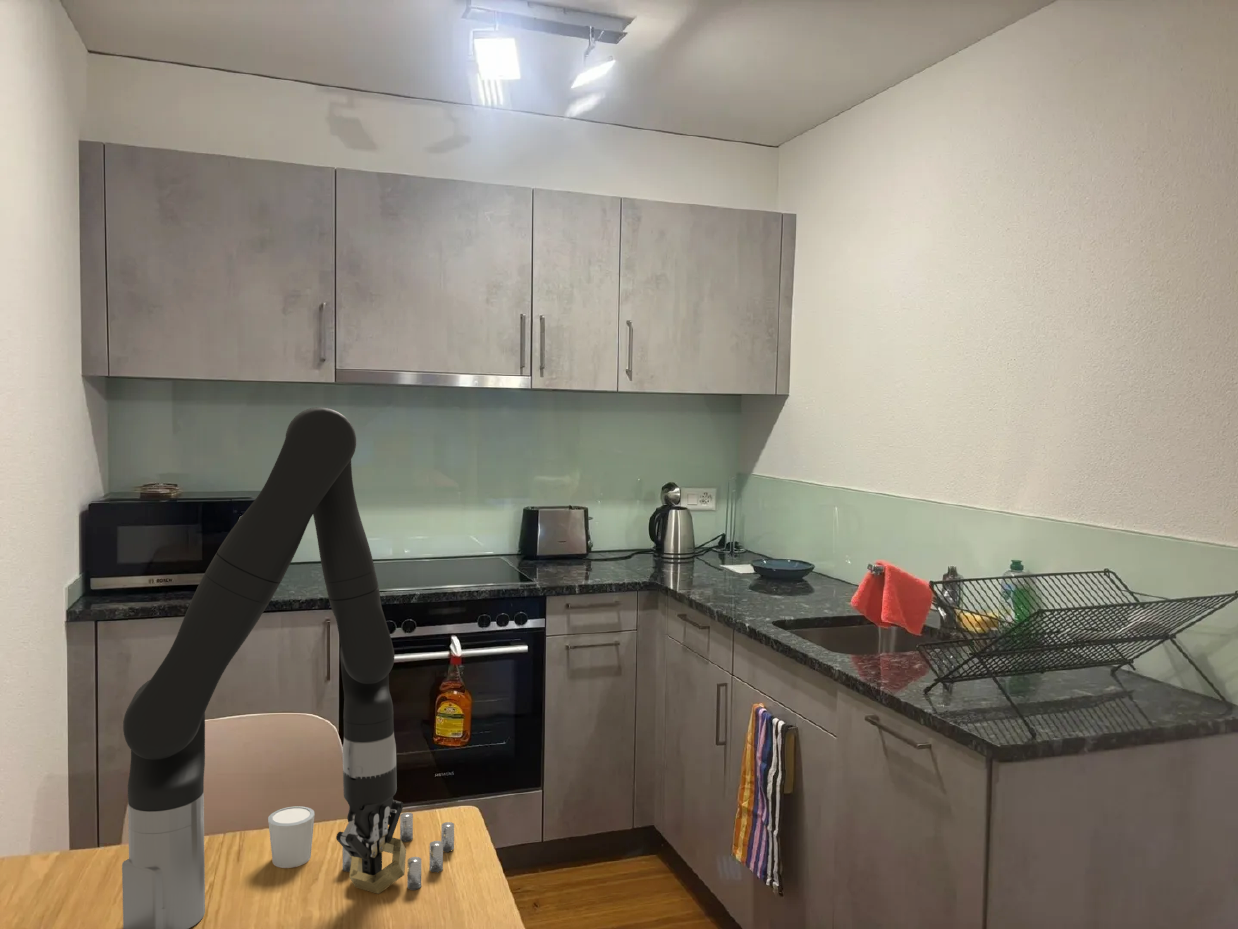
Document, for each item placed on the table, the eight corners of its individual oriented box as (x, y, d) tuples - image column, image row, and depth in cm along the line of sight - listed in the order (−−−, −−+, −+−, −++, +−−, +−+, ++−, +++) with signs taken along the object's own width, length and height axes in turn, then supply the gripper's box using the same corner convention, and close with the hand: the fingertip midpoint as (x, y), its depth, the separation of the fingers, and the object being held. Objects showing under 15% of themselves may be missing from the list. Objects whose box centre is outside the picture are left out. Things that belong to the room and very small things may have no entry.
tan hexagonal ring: (390, 897, 132) (384, 887, 130) (343, 883, 135) (337, 873, 134) (417, 853, 137) (412, 842, 136) (372, 841, 141) (367, 830, 139)
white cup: (299, 872, 138) (299, 827, 138) (258, 867, 139) (258, 822, 139) (323, 851, 145) (323, 808, 144) (284, 846, 146) (283, 803, 146)
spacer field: (415, 891, 133) (416, 864, 133) (339, 870, 139) (339, 844, 139) (467, 850, 146) (467, 826, 145) (395, 832, 151) (395, 809, 151)
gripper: (377, 744, 141) (379, 852, 142) (318, 777, 129) (321, 895, 130) (418, 751, 138) (420, 862, 139) (361, 786, 126) (364, 907, 127)
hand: (372, 878), depth 135 cm, fingers closed
